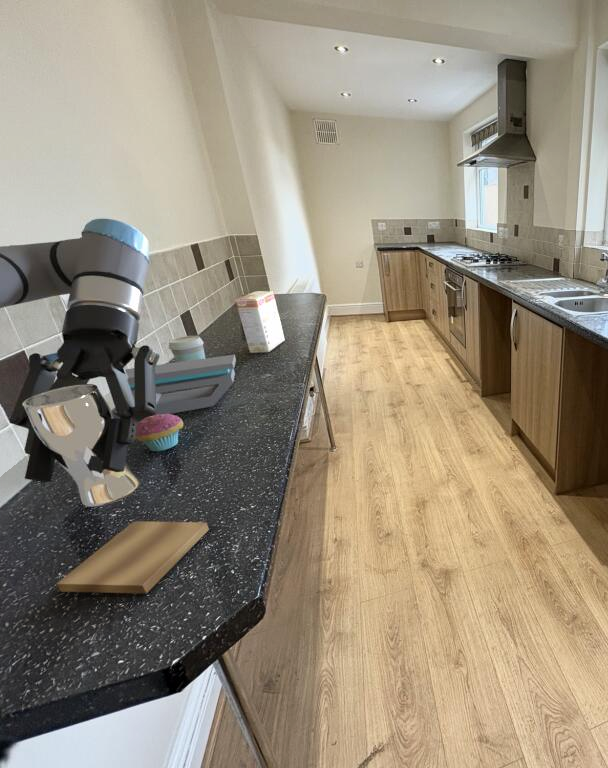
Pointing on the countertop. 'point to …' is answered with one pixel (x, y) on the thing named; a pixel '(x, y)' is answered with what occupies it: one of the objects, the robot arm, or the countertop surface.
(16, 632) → the countertop surface
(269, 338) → the coffeecake box
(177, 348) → the coffee cup
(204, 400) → the grey tapered box
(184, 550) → the serving board
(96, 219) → the robot arm
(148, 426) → the cupcake
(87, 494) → the beer glass
